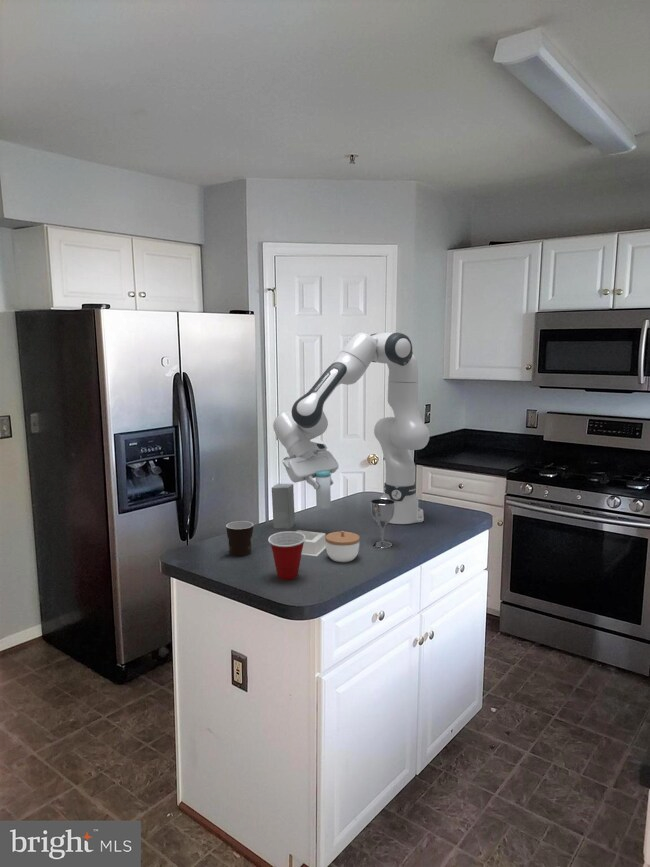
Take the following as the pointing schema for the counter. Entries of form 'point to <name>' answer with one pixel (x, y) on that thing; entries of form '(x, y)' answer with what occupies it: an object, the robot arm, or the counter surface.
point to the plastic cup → (287, 553)
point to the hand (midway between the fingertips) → (324, 486)
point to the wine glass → (382, 516)
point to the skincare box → (283, 506)
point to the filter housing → (313, 543)
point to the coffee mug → (240, 538)
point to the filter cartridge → (323, 489)
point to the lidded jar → (342, 546)
